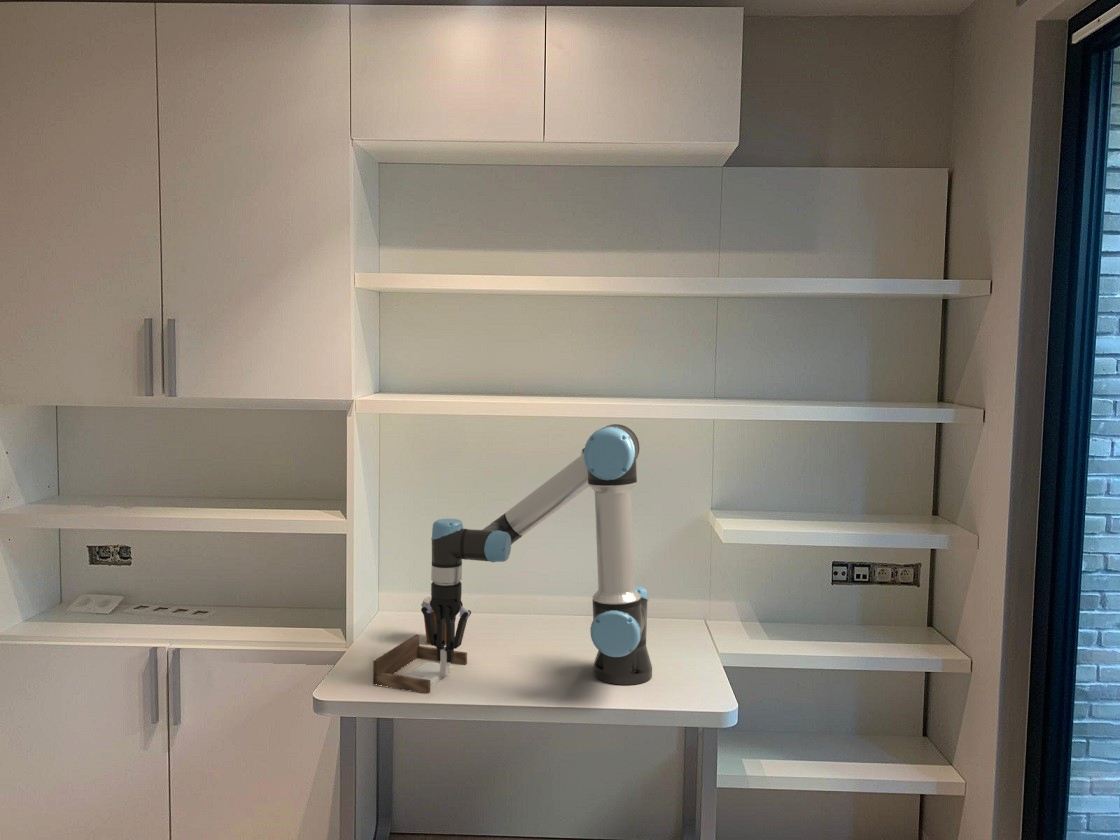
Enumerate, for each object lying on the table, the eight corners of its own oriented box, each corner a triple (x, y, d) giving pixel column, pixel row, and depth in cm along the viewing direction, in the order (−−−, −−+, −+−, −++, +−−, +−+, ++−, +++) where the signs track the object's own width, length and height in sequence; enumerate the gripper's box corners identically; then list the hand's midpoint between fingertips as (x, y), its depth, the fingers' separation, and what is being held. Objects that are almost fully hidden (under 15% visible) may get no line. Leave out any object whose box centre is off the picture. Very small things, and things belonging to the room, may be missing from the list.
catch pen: (467, 663, 227) (467, 641, 227) (428, 693, 206) (428, 669, 206) (416, 656, 232) (416, 634, 232) (373, 684, 211) (373, 660, 211)
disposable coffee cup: (422, 648, 238) (423, 605, 238) (419, 637, 248) (419, 596, 247) (457, 646, 241) (457, 603, 240) (452, 635, 250) (452, 594, 249)
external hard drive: (452, 672, 223) (430, 689, 211) (423, 667, 225) (400, 684, 214) (452, 665, 223) (430, 682, 211) (423, 661, 225) (400, 677, 214)
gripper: (476, 580, 217) (475, 672, 219) (429, 575, 221) (428, 665, 223) (463, 587, 210) (462, 682, 211) (415, 582, 214) (414, 675, 216)
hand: (445, 673), depth 217 cm, fingers closed
